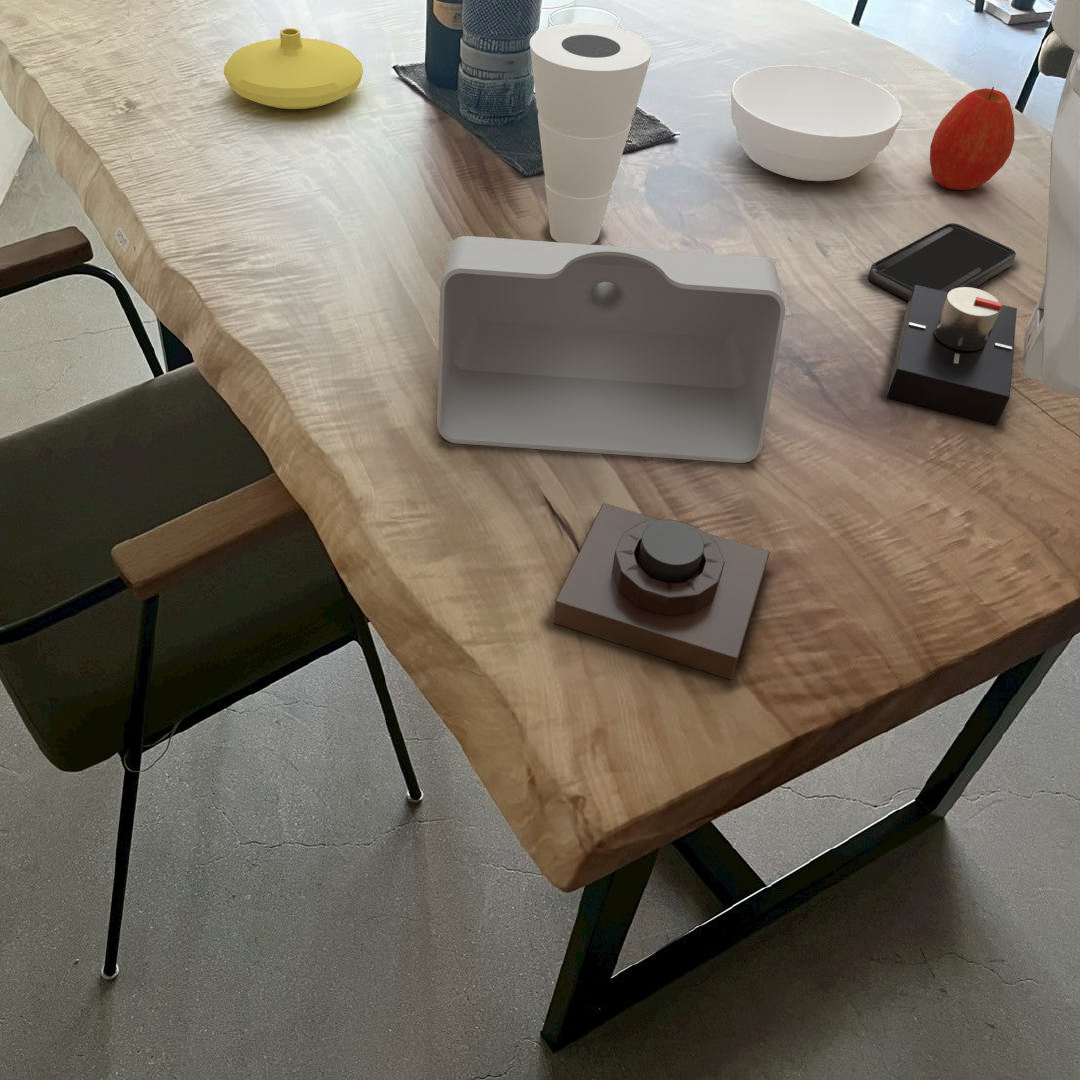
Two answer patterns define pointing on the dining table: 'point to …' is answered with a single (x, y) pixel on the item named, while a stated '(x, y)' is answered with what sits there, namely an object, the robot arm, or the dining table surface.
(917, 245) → the phone
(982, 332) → the knob
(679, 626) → the button block
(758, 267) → the grey storage bin
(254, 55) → the vase
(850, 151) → the bowl
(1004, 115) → the apple
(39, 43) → the dining table surface
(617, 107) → the white tapered cylinder
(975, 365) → the panel
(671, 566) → the button
